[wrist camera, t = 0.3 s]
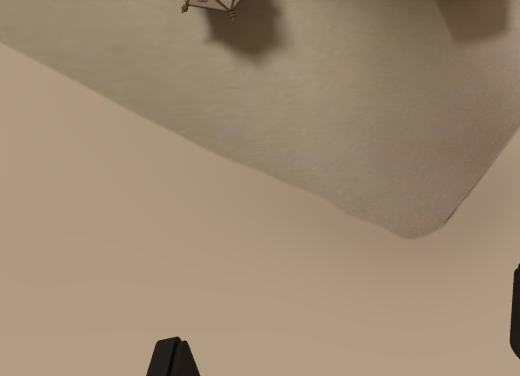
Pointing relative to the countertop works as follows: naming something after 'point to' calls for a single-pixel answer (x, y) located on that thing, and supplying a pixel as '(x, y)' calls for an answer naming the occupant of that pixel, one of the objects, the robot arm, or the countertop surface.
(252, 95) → the countertop surface
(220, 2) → the game die
